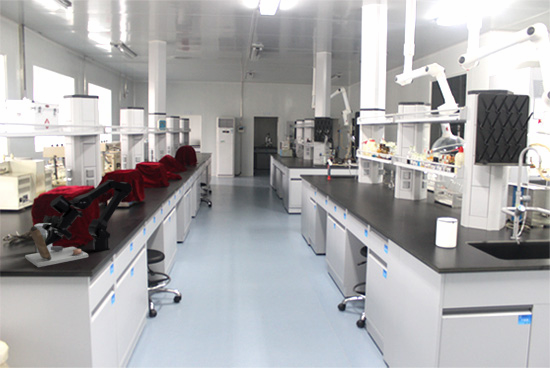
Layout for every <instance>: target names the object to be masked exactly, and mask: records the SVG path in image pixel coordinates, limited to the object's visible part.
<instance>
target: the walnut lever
mask: <svg viewBox="0 0 550 368" xmlns="http://www.w3.org/2000/svg"><path fill="white" fill-rule="evenodd" d="M28 231H29V233H30V235H31V238H32V239H33V242H34V244H35V248H36V247H37V249H38V251H39V253H40V256H41V257H42V258H44V259H47V260H51V255H50V253H49V250H48V248H47V246H46V244H45V241H44V239H43V237H42V234H41V232H40V230H39V229H37V227H35V226H34V225H33V226H32V227H31V228H30V229H29V230H28Z"/></svg>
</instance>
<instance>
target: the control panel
mask: <svg viewBox="0 0 550 368" xmlns="http://www.w3.org/2000/svg"><path fill="white" fill-rule="evenodd" d="M74 249H78V248H77V247H75V246H69V247H63V250H59V251H53V250H52V251H49V253H50V255H51V260H47V259H44V258H42V257H41V256H40V253H31V254H25V255H24V256H25V259H26V260H27V261H28V262H30V263H32V264H33V265H34V266H36V267H37V268H42V267H46V266H51V265H56V264H61V263H65V262H71V261H75V260H76V261H77V260H80V259H85V258H89V254H88V253H87V252H85V251H83V250H81V254H77V255H74V254H73V250H74Z"/></svg>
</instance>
